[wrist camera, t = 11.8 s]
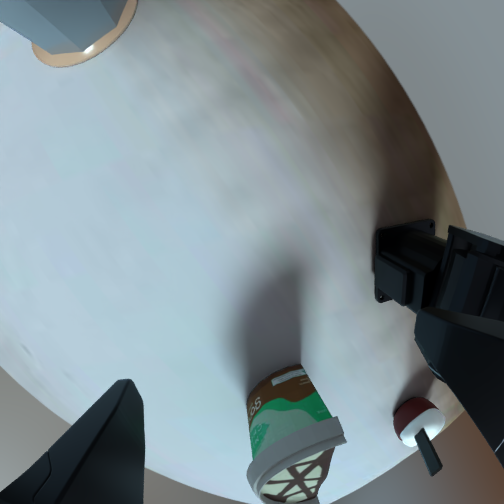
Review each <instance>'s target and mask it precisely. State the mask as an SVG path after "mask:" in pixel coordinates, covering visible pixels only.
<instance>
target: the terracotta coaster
mask: <svg viewBox="0 0 504 504" xmlns="http://www.w3.org/2000/svg"><path fill="white" fill-rule="evenodd" d="M137 1H138V0H128V1H127V3H126V5H125V8H124V10H123V12H122V15H121V17H120V20H119V22H118V25H117V27H116V28H114V29H113V30H111V31H110V32H109V33H107V34H106V35H104V36H103V37H102V38H100V39H99V40H98V41H96V42H95V43H94V44H92V45H91V46H90V47H89V48H87V49H86V50H85V51H84V52H74V53H64V54H55V55H51V54H50V53H48V52H47V51H45V50H44V49H42V48H41V47H39V46H37V45H36V44H34V43H33V42H32V49H33V52H34V54H35V56H36V57H37V58H38V59H39V60H40V61H41V62H43V63H44V64H46V65H49V66H52V67H69V66H74V65H77V64H80V63H83V62H85V61H87V60H89V59H91V58H93V57H95V56H97V55H98V54H100V53H101V52H103V51H104V50H105V49H107V48H108V47H109V46H110V45H111V44H113V43H114V42H115V41H116V40H117V39H118V38H119V37H120V36H121V35H122V33H123V32H124V31H125V30H126V28H127V27H128V25H129V24H130V22H131V21H132V19H133V17H134V14H135V12H136V8H137Z"/></svg>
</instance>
